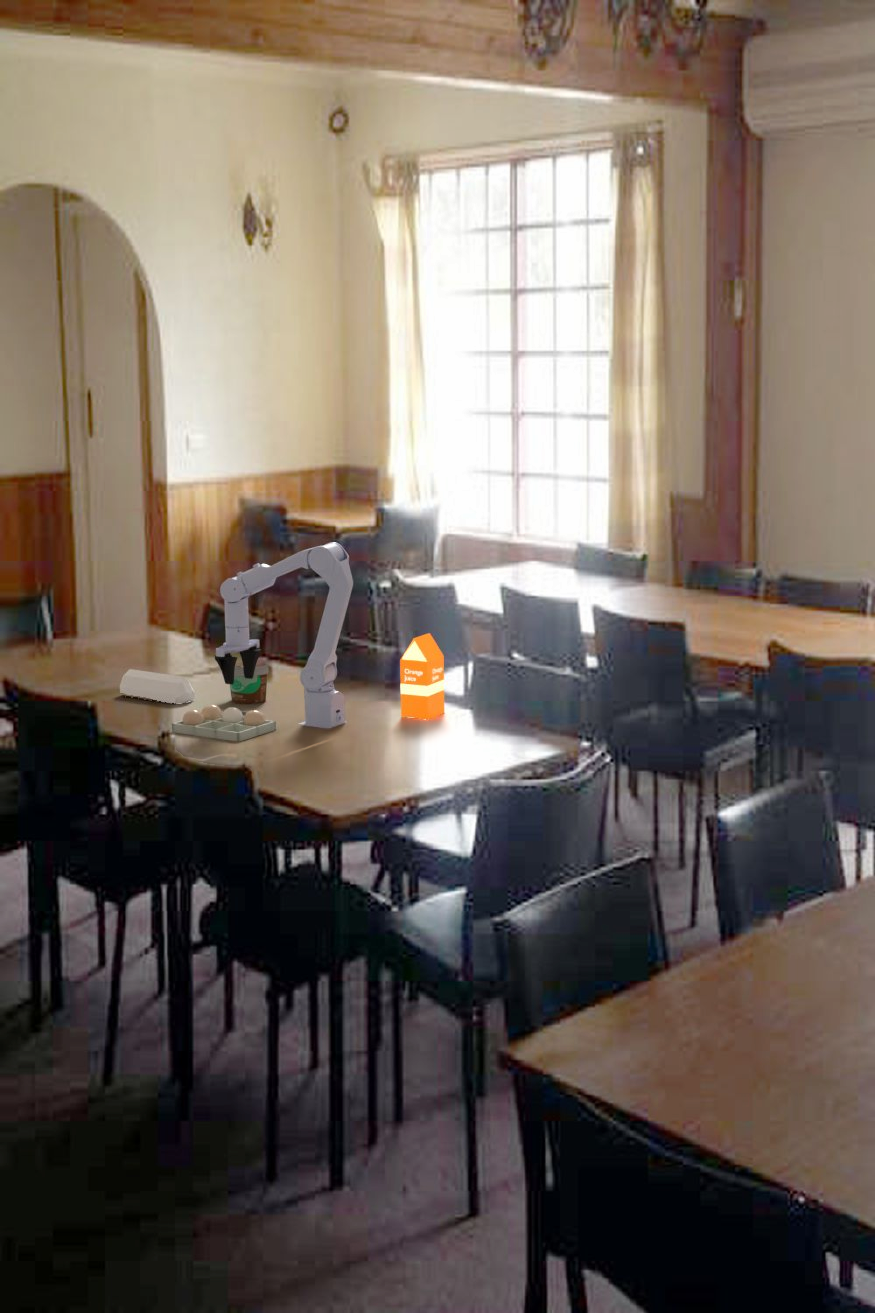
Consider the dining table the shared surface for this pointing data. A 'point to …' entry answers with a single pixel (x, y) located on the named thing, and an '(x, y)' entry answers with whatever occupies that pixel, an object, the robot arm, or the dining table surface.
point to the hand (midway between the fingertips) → (239, 681)
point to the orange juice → (422, 679)
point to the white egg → (232, 715)
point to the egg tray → (224, 729)
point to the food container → (249, 686)
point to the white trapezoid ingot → (157, 686)
